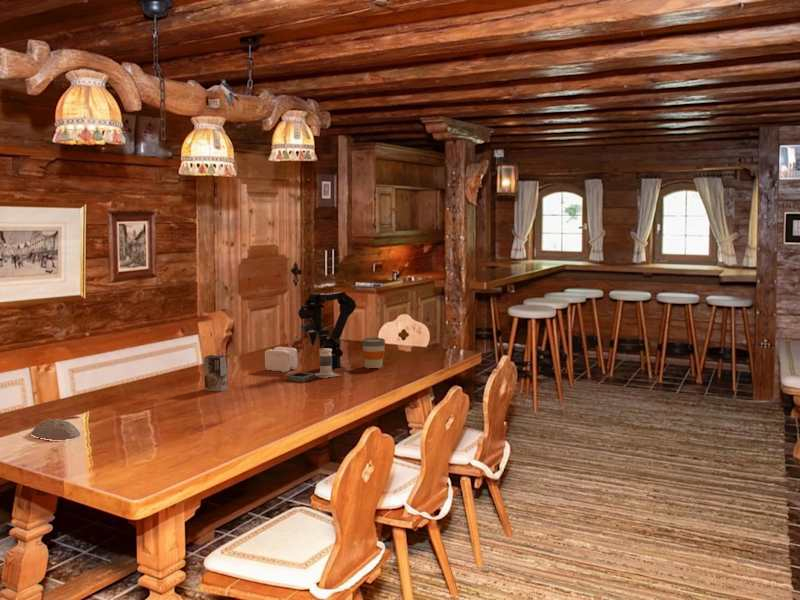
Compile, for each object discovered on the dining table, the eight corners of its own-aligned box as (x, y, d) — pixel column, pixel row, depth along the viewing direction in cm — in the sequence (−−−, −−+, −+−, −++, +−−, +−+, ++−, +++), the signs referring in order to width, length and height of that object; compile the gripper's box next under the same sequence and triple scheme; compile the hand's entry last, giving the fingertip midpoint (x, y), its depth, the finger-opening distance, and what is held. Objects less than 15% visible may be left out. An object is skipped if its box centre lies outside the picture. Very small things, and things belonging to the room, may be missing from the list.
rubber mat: (330, 372, 407) (330, 371, 407) (340, 376, 398) (340, 375, 398) (311, 375, 401) (311, 373, 401) (321, 378, 392) (321, 377, 392)
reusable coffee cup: (358, 368, 418) (358, 340, 417) (368, 364, 430) (367, 337, 428) (379, 370, 414) (379, 342, 412) (389, 365, 425) (388, 338, 424)
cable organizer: (299, 369, 416) (298, 348, 415) (287, 373, 406) (287, 351, 405) (275, 367, 422) (275, 346, 421) (264, 371, 413) (263, 349, 412)
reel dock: (297, 376, 397) (297, 372, 397) (315, 378, 393) (315, 373, 393) (286, 380, 388) (286, 375, 387) (304, 382, 383) (304, 377, 383)
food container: (59, 423, 308) (57, 407, 307) (92, 438, 293) (90, 421, 291) (20, 436, 297) (18, 419, 295) (52, 451, 281) (50, 434, 280)
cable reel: (325, 372, 404) (325, 347, 403) (335, 374, 400) (334, 349, 399) (316, 374, 399) (316, 349, 398) (326, 376, 395) (325, 351, 394)
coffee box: (228, 389, 370) (227, 355, 368) (221, 391, 364) (220, 357, 362) (211, 387, 373) (210, 354, 371) (204, 390, 367) (203, 356, 365)
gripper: (294, 316, 413) (295, 345, 415) (310, 320, 397) (310, 350, 399) (313, 314, 419) (314, 343, 421) (329, 318, 403) (330, 348, 405)
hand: (316, 346), depth 411 cm, fingers open, 9 cm apart
